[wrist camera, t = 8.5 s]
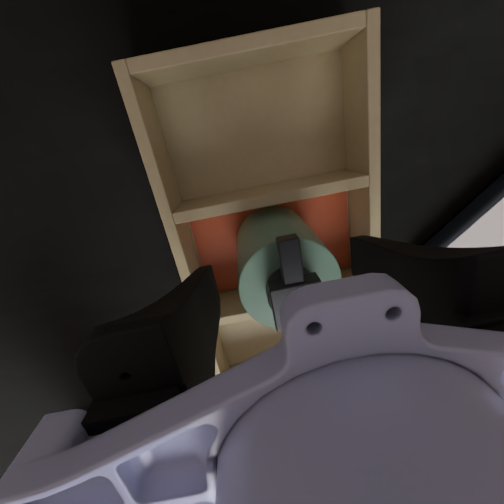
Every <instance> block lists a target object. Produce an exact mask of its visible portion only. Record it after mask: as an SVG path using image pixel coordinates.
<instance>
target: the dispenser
mask: <svg viewBox="0 0 504 504" xmlns="http://www.w3.org/2000/svg"><path fill="white" fill-rule="evenodd" d="M237 265H238V292H239V297H240V301H241V303H242V305H243V307H244V309H245V310H246V311H247V313H248V314H249V315H250V316H251V317H252V318H253V319H255V320H256V321H258V322H259V323H261V324H263V325H265V326H268V327H271V328H276V331H277V332H282V328H281V322H280V317H279V316H280V309H281V303H282V302H283V300H284V299H285V298H286V297H287V296H288V294H289V293H290V292H291V291H294V290H296V289H298V288H300V287H303V286H305V285H310V284H315V283H320V282H325V281H331V280H336V279H341V278H342V276H341V270H340V266H339V264H338V262H337V260H336V258H335V257H334V255H333V254H332V253H331V252H330V250H329V249H328V248H327V247H326V246H325V245H324V243H323V242H322V241H321V240H320V239H319V238H318V237H317V235H316V234H315V233H314V232H313V231H312V230H311V229H310V227H309V226H308V225H307V224H306V223H305V222H304V220H303V219H302V218H301V217H300V216H299V215H298V214H297V213H296V212H294V211H292V210H291V209H288V208H286V207H282V206H267V207H263V208H260V209H258V210H256V211H254V212H253V213H251V214H250V215H249V216H248V217H247V218H246V219H245V220H244V221H243V223H242V224H241V226H240V228H239V231H238V235H237Z"/></svg>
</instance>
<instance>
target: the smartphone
mask: <svg viewBox="0 0 504 504" xmlns="http://www.w3.org/2000/svg"><path fill="white" fill-rule="evenodd" d="M423 246H432V247H447V248H478V247H497V246H504V173H503V174H502V175H501V176H500V177H499V178H498V179H497V180H495V181H494V182H493V183H492V184H491V185H490V186H489V187H488V188H487V189H485V190H484V191H483V192H482V193H481V194H480V195H479V196H478V197H477V198H475V199H474V200H473V201H472V202H471V203H470V204H469V205H468V206H467V207H465V208H464V209H463V210H462V211H461V212H460V213H459V214H458V215H457V216H455V217H454V218H453V219H452V220H451V221H450V222H449V223H448V224H447V225H445V226H444V227H443V228H442V229H441V230H440V231H439V232H438V233H437V234H435V235H434V236H433V237H432V238H431V239H430V240H429V241H428V242H426V243H425V244H424V245H423Z"/></svg>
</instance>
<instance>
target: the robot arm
mask: <svg viewBox="0 0 504 504" xmlns="http://www.w3.org/2000/svg"><path fill="white" fill-rule="evenodd" d="M350 250H351V271H352V275H353V276H351V277H346V278H341V279H336V280H331V281H325V282H320V283H315V284H310V285H305V286H303V287H300V288H298V289H296V290H294V291H291V292H290V293H289V294H288V296H287V297H286V298H285V299H284V300H283V302H282V303H281V309H280V316H279V317H280V322H281V328H282V337H281V340H280V341H279V342H278V344H277V345H275V346H273V347H271V348H269V349H267V350H265V351H263V352H261V353H259V354H257V355H255V356H253V357H251V358H249V359H247V360H246V361H244V362H242V363H240V364H238V365H236V366H234V367H232V368H230V369H228V370H226V371H224V372H222V373H220V374H218V375H216V376H215V354H216V345H217V337H218V330H219V322H220V314H221V310H220V296H219V292H218V288H217V285H216V281H215V277H214V273H213V270H212V266H211V265H207V266H201V267H199V268H197V269H196V270H195V271H194V272H193V273H191V274H190V275H189V276H188V277H187V278H186V279H185V280H184V281H183V282H182V283H180V284H179V285H178V286H177V287H176V288H174V289H173V290H172V291H171V292H169V293H168V294H167V295H165V296H164V297H162V298H161V299H159V300H158V301H156V302H154V303H152V304H151V305H149V306H147V307H145V308H143V309H141V310H139V311H137V312H135V313H133V314H130V315H128V316H126V317H123V318H120V319H118V320H115V321H112V322H109V323H106V324H103V325H100V326H96V327H94V328H93V330H92V331H91V332H90V334H89V335H88V336H87V338H86V339H85V340H84V342H83V343H82V344H81V346H80V347H79V348H78V350H77V352H76V355H75V357H74V367H75V369H76V372H77V374H78V376H79V378H80V380H81V381H82V383H83V385H84V387H85V388H86V390H87V392H88V394H89V395H90V397H91V399H92V401H93V402H92V404H91V406H90V408H89V410H88V411H85V410H83V409H72V410H67V411H62V412H56V413H51V414H46V415H44V417H43V418H42V420H41V421H40V422H39V424H38V425H37V427H36V428H35V430H34V431H33V433H32V434H31V436H30V437H29V438H28V440H27V441H26V443H25V444H24V446H23V447H22V449H21V450H20V451H19V453H18V454H17V456H16V457H15V459H14V460H13V462H12V463H11V465H10V466H9V467H8V469H7V470H6V472H5V473H4V475H3V476H2V478H1V479H0V504H504V246H497V247H478V248H447V247H432V246H422V245H415V244H409V243H403V242H397V241H393V240H388V239H383V238H378V237H373V236H366V235H361V236H356V237H350Z"/></svg>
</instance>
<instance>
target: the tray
mask: <svg viewBox="0 0 504 504" xmlns="http://www.w3.org/2000/svg"><path fill="white" fill-rule="evenodd" d="M111 64H112V67H113V70H114V73H115V76H116V79H117V82H118V85H119V89H120V92H121V95H122V98H123V101H124V104H125V107H126V110H127V113H128V117H129V120H130V123H131V126H132V129H133V132H134V135H135V138H136V141H137V144H138V148H139V151H140V154H141V157H142V160H143V163H144V166H145V169H146V172H147V175H148V179H149V182H150V185H151V188H152V191H153V194H154V197H155V200H156V203H157V207H158V210H159V213H160V216H161V219H162V222H163V225H164V228H165V231H166V234H167V238H168V241H169V244H170V247H171V250H172V253H173V256H174V259H175V262H176V265H177V269H178V272H179V275H180V278H181V281H182V282H183V281H184V280H185V279H186V278H187V277H188V276H189V275H190V274H191V273H193V272H194V271H195V270H196V269H197V268H199V267H201V266H207V265H211V266H212V270H213V273H214V277H215V281H216V285H217V288H218V292H219V296H220V310H221V314H220V322H219V330H218V337H217V345H216V354H215V376H216V375H218V374H220V373H222V372H224V371H226V370H228V369H230V368H232V367H234V366H236V365H238V364H240V363H242V362H244V361H246V360H247V359H249V358H251V357H253V356H255V355H257V354H259V353H261V352H263V351H265V350H267V349H269V348H271V347H273V346H275V345H277V344H278V342H279V341H280V340H281V337H282V332H277V331H276V328H271V327H268V326H265V325H263V324H261V323H259V322H258V321H256V320H255V319H253V318H252V317H251V316H250V315H249V314H248V313H247V311H246V310H245V309H244V307H243V305H242V303H241V301H240V297H239V292H238V265H237V235H238V231H239V228H240V226H241V224H242V223H243V221H244V220H245V219H246V218H247V217H248V216H249V215H250V214H251V213H253V212H254V211H256V210H258V209H260V208H263V207H267V206H282V207H286V208H288V209H291V210H292V211H294V212H296V213H297V214H298V215H299V216H300V217H301V218H302V219H303V220H304V222H305V223H306V224H307V225H308V226H309V227H310V229H311V230H312V231H313V232H314V233H315V234H316V235H317V237H318V238H319V239H320V240H321V241H322V242H323V243H324V245H325V246H326V247H327V248H328V249H329V250H330V252H331V253H332V254H333V255H334V257H335V258H336V260H337V262H338V264H339V266H340V270H341V276H342V278H346V277H351V276H353V275H352V271H351V250H350V237H356V236H361V235H366V236H373V237H378V238H380V7H375V8H370V9H367V10H366V11H365V10H361V11H356V12H351V13H346V14H341V15H336V16H331V17H326V18H321V19H317V20H312V21H307V22H302V23H297V24H292V25H287V26H282V27H277V28H272V29H268V30H263V31H258V32H253V33H248V34H243V35H238V36H233V37H228V38H223V39H219V40H214V41H209V42H204V43H199V44H194V45H189V46H184V47H179V48H174V49H170V50H165V51H160V52H155V53H150V54H145V55H140V56H135V57H130V58H126V60H125V59H120V60H115V61H112V62H111Z"/></svg>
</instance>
